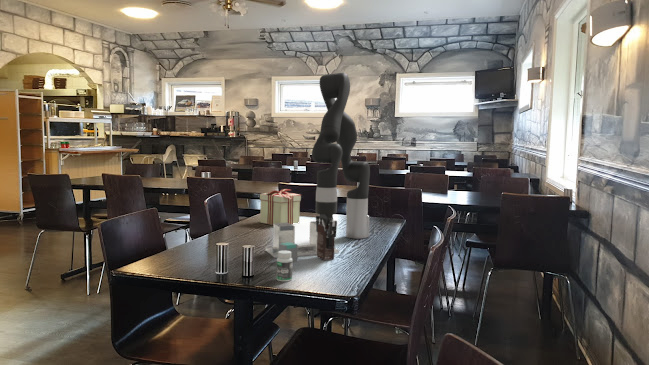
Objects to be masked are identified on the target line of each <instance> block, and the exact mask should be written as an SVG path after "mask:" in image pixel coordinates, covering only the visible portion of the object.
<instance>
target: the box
mask: <svg viewBox="0 0 649 365" xmlns="http://www.w3.org/2000/svg"><path fill="white" fill-rule="evenodd" d="M325 228H326V229H329V226H325ZM333 234H334V231H333ZM335 239H336V237H334V238H333V248H332V249H327V248H326V232H325V229H324V226H323V225H322V224H318V235H317V255H316V257H317V258H319V259H321V260H323V261H330V260H335V253H334V248H335Z"/></svg>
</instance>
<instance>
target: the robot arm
mask: <svg viewBox="0 0 649 365" xmlns="http://www.w3.org/2000/svg"><path fill="white" fill-rule="evenodd" d="M319 89H320V93H321V96H322V98H323V99H322V100H323V102H324V103H325V107H326V110H327V111H326V112H325V114H323V117H322V120H321V125H320V132H319V135H318V137H317V139H316V141H315V143H314V145H313V148H312V150H311V157H312V158H311V159H312V160H313V161H314V162H315V163H317V164H331V165H330V167H328V168H325V169H322V170H318V171H317V173H316V190H315V213H316V214H317V215H316V216H315V221H316V231H317V232H318V224H322V225H323V226H324V229H325V232H326V248H327V249H332V248H333V238H334V237H335V238H336V237H337V231H338V230H337V227H338V220H334V218H333V215H335V214H337V212H338V190H337V189H338V188H337V187H338V186H337V185H338V171H339V168H340V164H341V168H342V173H343V174H342V175H343V176H344V180H345V181H346V182H349V183H358V185H357V187H356V188H354V189H350V190H348V191H347V193H346V217H345V220H346V221H345V223H346V224H345V236H346V238H347V239H348V238H349V239H355V240H356V239H359V240H360V239H367V238H369V237H370V215H368V212H369V210H368V208H369V206H368V205H369V191H370V178H371V177H370V176H371V169H370V164H369V162H368V161H359V160H358V161H357V160H352V151H353V149H354V147H355V145H356V143H357V140H358V131H357V128H356V123H355V121H354V120H353V118H352V117H351V116H350V115H349V114H348V113H346V111H345V110H346V106H347V103H348V99H349V96H350V92H351V80H350V78H349V75H348V74H347V73H345V72H337V73H336V72H335V73H330V74H329V73H328V74H324V75H323V74H322V76H320V78H319ZM325 226H329V229H326V228H325ZM333 231H334V234H333Z"/></svg>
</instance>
